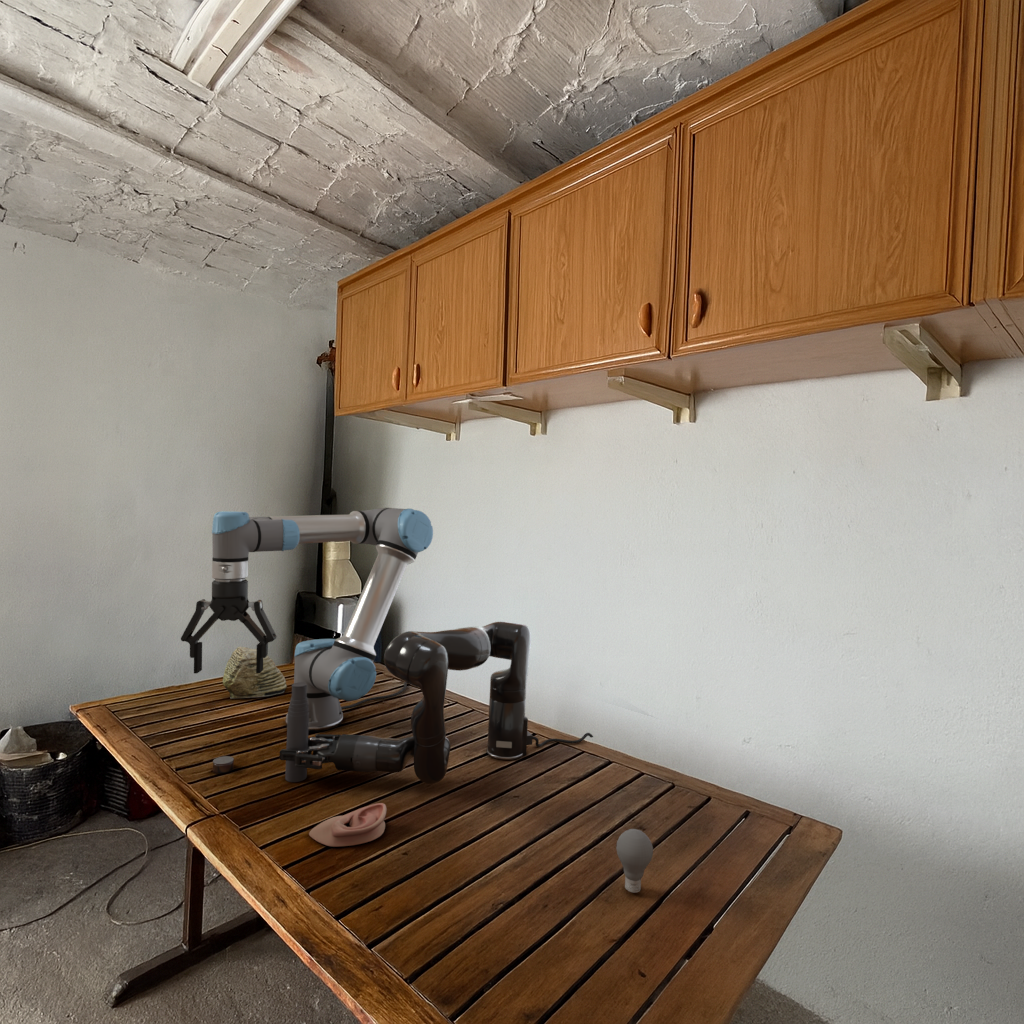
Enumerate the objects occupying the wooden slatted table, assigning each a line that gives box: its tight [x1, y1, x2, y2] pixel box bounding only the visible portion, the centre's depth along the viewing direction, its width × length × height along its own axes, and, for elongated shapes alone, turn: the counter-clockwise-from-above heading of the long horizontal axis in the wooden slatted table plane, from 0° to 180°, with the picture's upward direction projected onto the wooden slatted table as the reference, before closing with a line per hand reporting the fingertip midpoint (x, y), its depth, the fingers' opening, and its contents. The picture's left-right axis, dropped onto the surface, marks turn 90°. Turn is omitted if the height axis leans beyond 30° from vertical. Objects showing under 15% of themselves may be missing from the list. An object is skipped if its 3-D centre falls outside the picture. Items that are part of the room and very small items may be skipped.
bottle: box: [284, 682, 309, 783], centre depth 142 cm, size 5×5×21 cm
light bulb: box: [615, 828, 654, 894], centre depth 106 cm, size 6×6×10 cm
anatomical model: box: [308, 802, 387, 848], centre depth 120 cm, size 13×4×12 cm
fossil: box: [222, 646, 288, 699], centre depth 198 cm, size 9×18×15 cm, turn 132°
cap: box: [212, 755, 235, 774], centre depth 145 cm, size 4×4×2 cm
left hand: (228, 671), depth 145 cm, fingers open, 13 cm apart
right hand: (286, 748), depth 142 cm, fingers open, 6 cm apart
